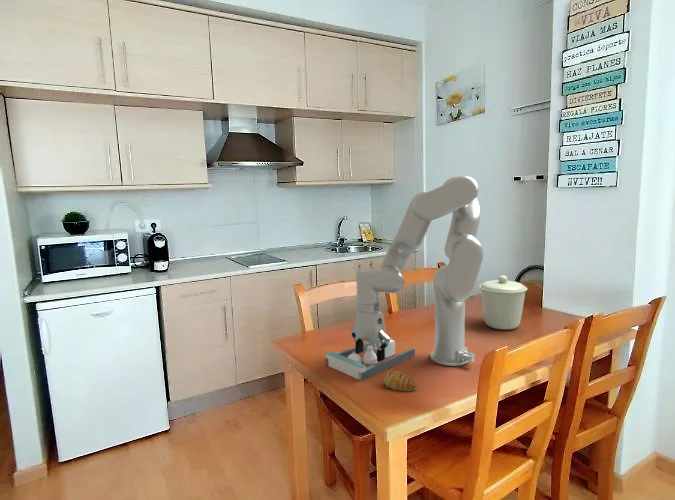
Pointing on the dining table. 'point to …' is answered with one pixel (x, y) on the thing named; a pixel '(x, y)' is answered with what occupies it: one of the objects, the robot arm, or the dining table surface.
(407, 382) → the pastry
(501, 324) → the canister
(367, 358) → the container set
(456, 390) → the dining table surface
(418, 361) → the dining table surface
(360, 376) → the rail guide
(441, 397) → the dining table surface
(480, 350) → the dining table surface
